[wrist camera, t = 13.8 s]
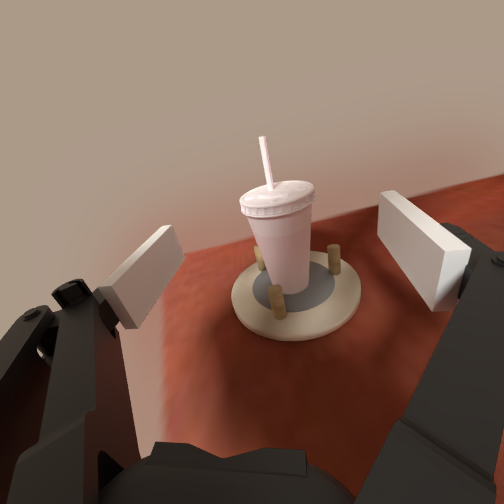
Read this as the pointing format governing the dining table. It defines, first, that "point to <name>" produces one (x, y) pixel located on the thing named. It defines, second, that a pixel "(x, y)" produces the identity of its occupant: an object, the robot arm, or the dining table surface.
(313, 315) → the cup holder base
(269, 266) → the smoothie
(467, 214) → the dining table surface
